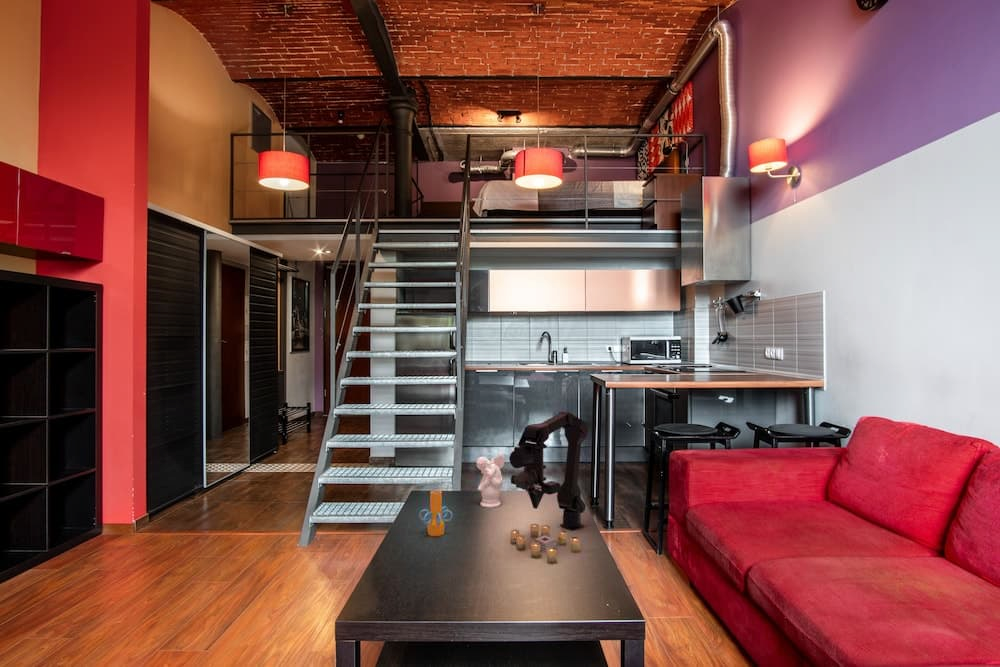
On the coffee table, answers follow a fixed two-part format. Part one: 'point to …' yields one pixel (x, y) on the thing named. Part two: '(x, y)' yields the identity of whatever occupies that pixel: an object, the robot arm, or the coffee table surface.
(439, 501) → the orange column with rings
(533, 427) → the robot arm
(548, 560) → the spacers
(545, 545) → the zinc nut
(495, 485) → the cherub figurine
